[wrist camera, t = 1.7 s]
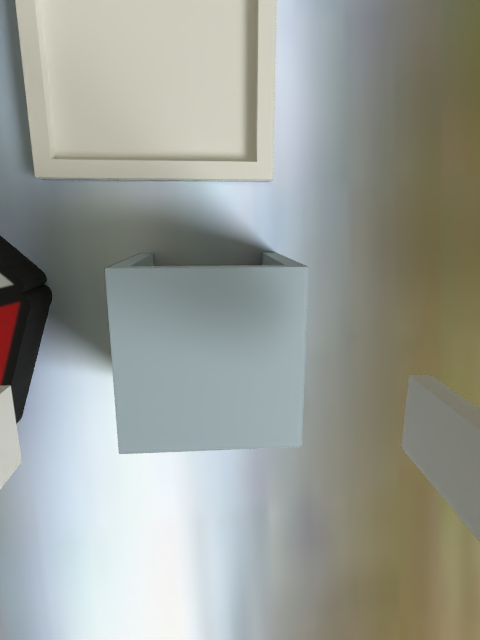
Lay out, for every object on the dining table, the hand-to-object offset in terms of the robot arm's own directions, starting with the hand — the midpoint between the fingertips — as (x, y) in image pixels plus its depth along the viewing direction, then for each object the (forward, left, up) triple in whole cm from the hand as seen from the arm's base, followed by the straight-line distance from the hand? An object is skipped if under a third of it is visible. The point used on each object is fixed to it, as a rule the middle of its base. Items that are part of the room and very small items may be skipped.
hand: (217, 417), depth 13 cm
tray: (-3, +16, -15) cm, 22 cm away
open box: (0, 0, -15) cm, 15 cm away
